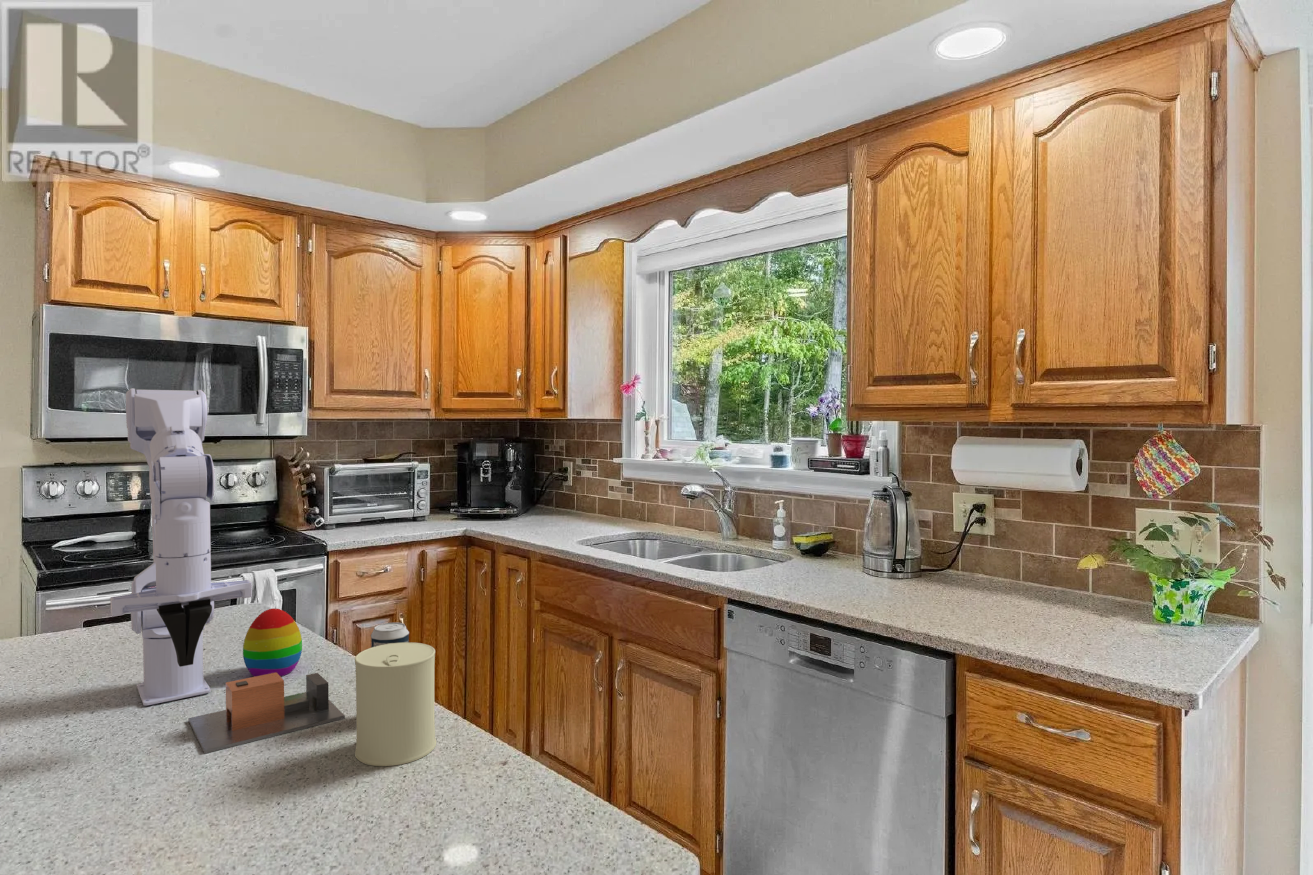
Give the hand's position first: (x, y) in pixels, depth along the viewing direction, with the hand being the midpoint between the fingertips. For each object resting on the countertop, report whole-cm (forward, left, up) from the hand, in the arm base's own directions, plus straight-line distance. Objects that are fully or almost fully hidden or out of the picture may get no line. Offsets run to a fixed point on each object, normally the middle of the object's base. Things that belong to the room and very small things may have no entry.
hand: (185, 663), depth 91 cm
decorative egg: (-19, +14, -10) cm, 25 cm away
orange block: (0, +8, -9) cm, 12 cm away
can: (+19, +19, -10) cm, 29 cm away
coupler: (0, +9, -9) cm, 13 cm away
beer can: (+9, +22, -10) cm, 26 cm away
